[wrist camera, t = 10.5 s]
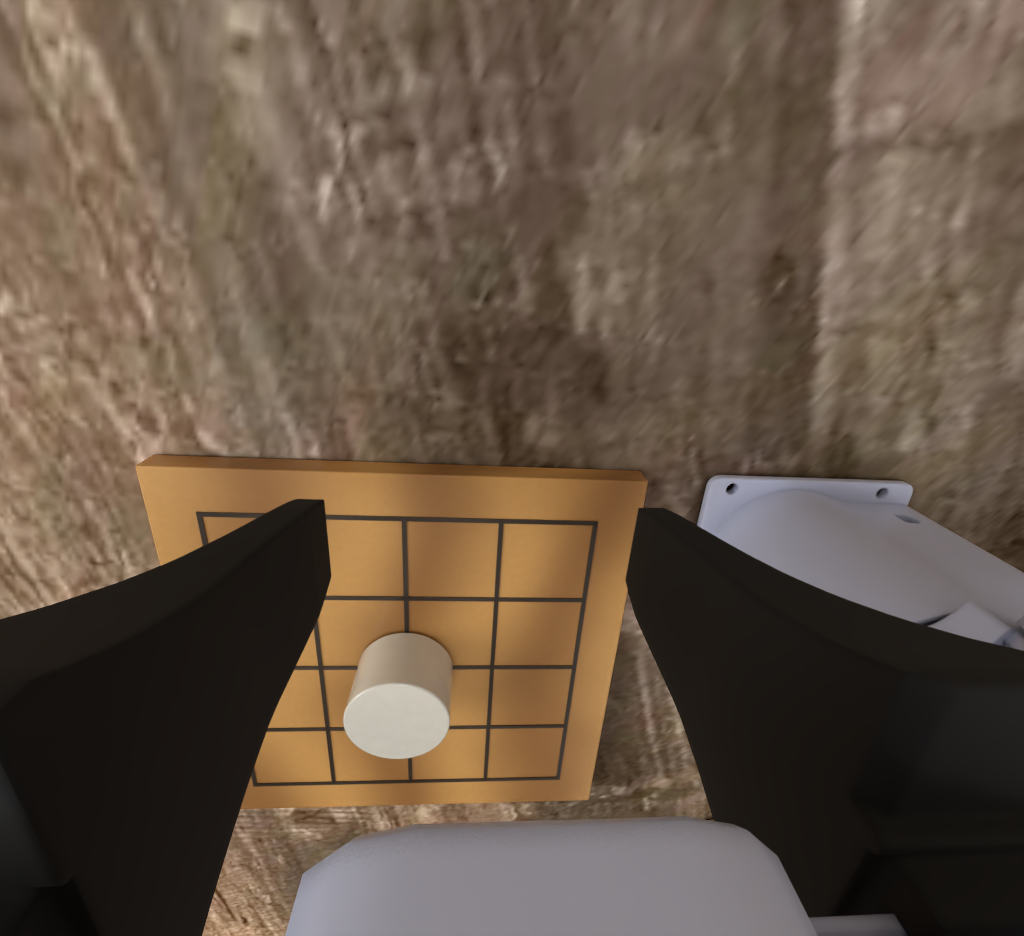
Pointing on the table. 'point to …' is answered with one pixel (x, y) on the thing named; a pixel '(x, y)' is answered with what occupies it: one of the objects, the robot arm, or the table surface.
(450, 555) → the game board
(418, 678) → the white stone
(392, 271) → the table surface
